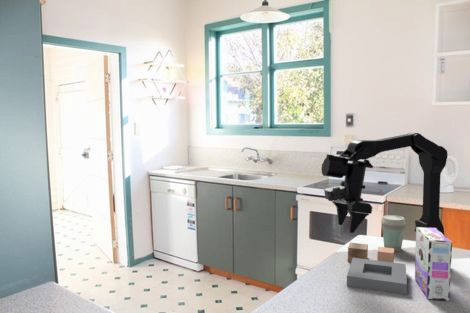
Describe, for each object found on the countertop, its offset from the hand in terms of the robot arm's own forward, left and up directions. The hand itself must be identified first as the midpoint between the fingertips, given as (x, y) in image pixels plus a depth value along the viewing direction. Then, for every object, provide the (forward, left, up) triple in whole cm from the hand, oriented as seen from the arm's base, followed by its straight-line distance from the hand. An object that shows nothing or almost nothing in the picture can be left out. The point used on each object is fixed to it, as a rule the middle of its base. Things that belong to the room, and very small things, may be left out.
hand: (345, 228), depth 122 cm
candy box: (-24, +4, -14) cm, 29 cm away
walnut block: (-3, -12, -14) cm, 19 cm away
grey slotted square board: (-10, +3, -14) cm, 17 cm away
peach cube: (-12, -11, -14) cm, 22 cm away
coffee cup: (-14, -28, -14) cm, 35 cm away
